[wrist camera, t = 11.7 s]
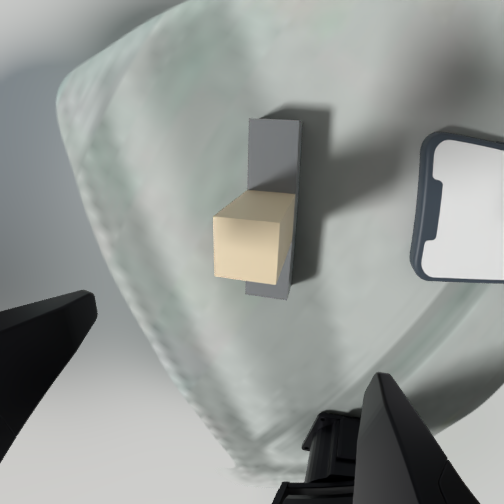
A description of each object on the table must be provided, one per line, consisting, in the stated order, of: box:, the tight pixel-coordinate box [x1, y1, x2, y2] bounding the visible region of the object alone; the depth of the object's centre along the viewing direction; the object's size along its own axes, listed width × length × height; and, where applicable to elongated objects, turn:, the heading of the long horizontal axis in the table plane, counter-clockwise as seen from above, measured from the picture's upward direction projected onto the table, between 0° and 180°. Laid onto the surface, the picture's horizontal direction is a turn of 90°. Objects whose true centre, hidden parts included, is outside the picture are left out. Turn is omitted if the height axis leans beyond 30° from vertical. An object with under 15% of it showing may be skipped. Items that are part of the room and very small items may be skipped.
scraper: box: [213, 118, 302, 300], centre depth 15 cm, size 10×2×7 cm, turn 179°
